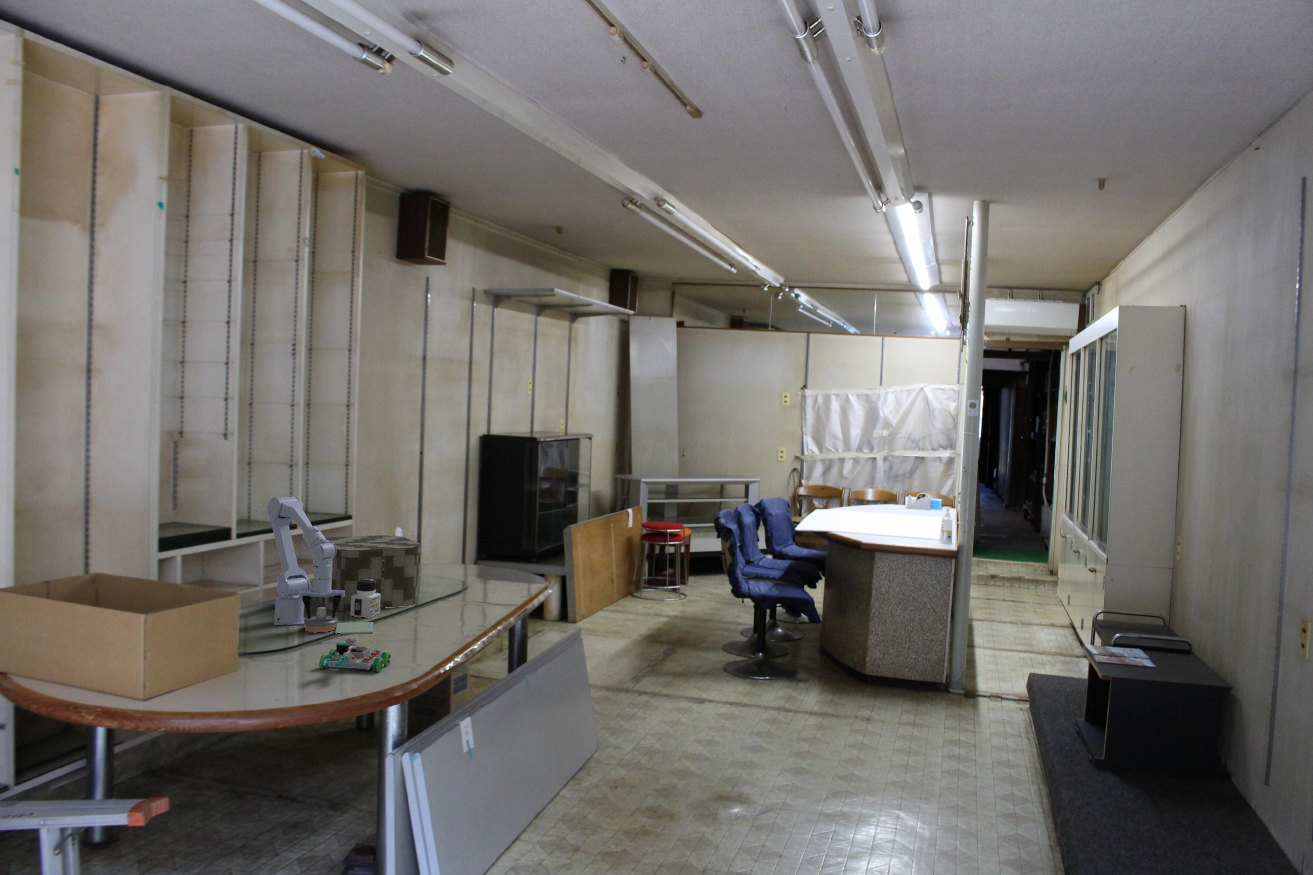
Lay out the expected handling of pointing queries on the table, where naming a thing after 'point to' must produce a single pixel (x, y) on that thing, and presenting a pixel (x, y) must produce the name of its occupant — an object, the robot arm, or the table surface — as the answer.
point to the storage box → (375, 569)
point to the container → (365, 599)
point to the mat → (354, 628)
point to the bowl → (320, 628)
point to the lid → (321, 618)
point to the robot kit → (355, 657)
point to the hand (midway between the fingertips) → (321, 617)
